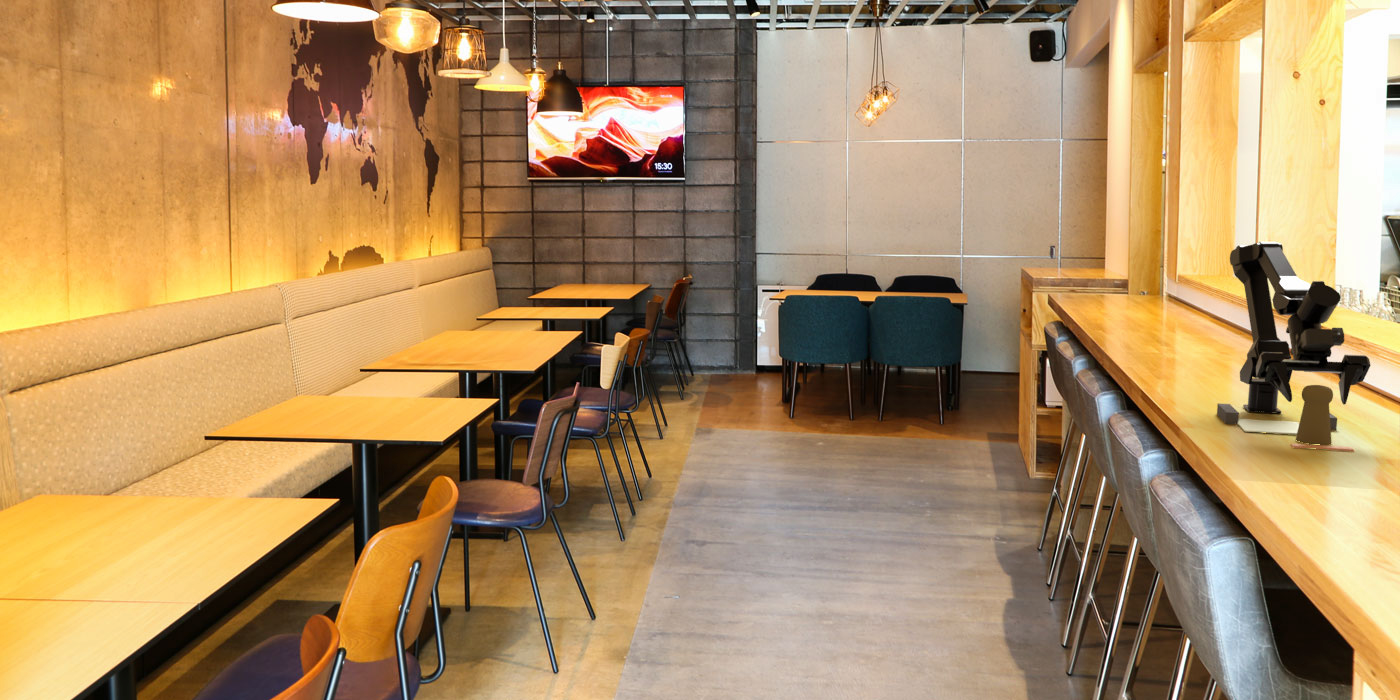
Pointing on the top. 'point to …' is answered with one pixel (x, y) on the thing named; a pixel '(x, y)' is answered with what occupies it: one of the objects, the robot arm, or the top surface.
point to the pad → (1269, 426)
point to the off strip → (1323, 447)
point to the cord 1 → (1227, 413)
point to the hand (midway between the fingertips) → (1317, 401)
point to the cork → (1315, 415)
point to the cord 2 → (1333, 421)
